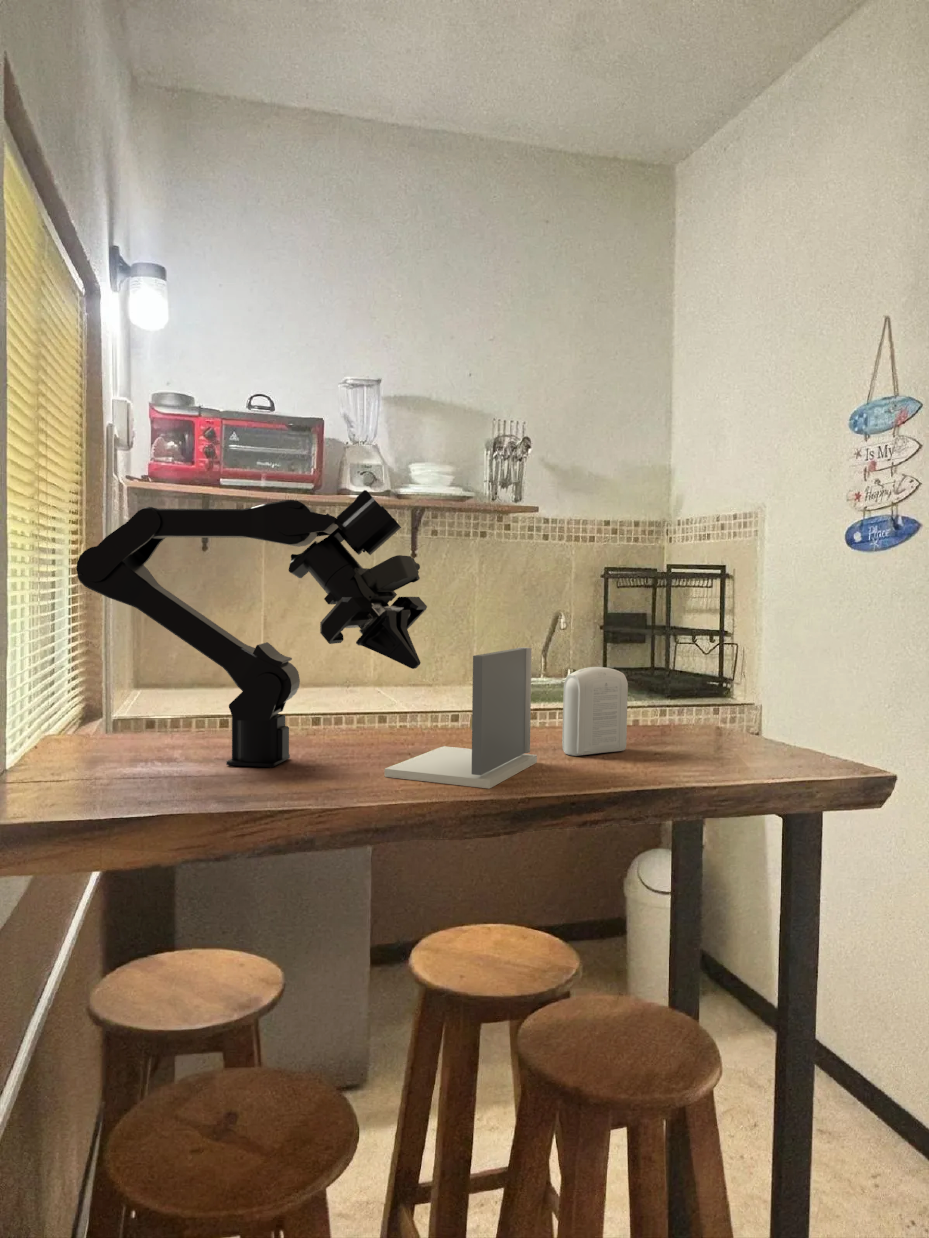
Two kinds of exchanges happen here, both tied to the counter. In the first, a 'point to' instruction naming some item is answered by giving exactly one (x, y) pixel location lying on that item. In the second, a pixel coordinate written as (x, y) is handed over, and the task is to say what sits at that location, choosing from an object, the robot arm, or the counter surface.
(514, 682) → the door
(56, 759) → the counter surface
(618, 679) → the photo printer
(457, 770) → the board
